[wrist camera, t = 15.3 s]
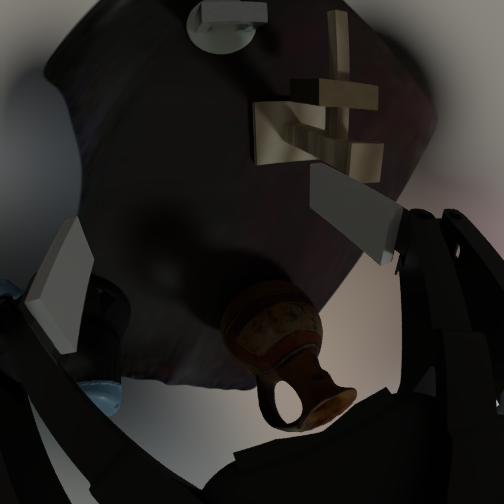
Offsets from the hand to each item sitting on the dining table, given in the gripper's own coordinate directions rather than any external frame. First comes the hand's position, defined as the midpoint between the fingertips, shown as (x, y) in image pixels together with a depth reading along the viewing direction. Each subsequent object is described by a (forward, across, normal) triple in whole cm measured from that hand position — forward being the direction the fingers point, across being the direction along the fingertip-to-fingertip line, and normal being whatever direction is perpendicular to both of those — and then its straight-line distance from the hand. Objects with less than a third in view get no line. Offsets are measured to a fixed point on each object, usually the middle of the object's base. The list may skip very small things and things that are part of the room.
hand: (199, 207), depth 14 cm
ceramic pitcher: (+29, +12, -38) cm, 49 cm away
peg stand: (+27, +19, +5) cm, 34 cm away
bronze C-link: (+18, +18, +5) cm, 26 cm away
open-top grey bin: (+27, +9, +17) cm, 33 cm away
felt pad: (+28, +9, +17) cm, 33 cm away
